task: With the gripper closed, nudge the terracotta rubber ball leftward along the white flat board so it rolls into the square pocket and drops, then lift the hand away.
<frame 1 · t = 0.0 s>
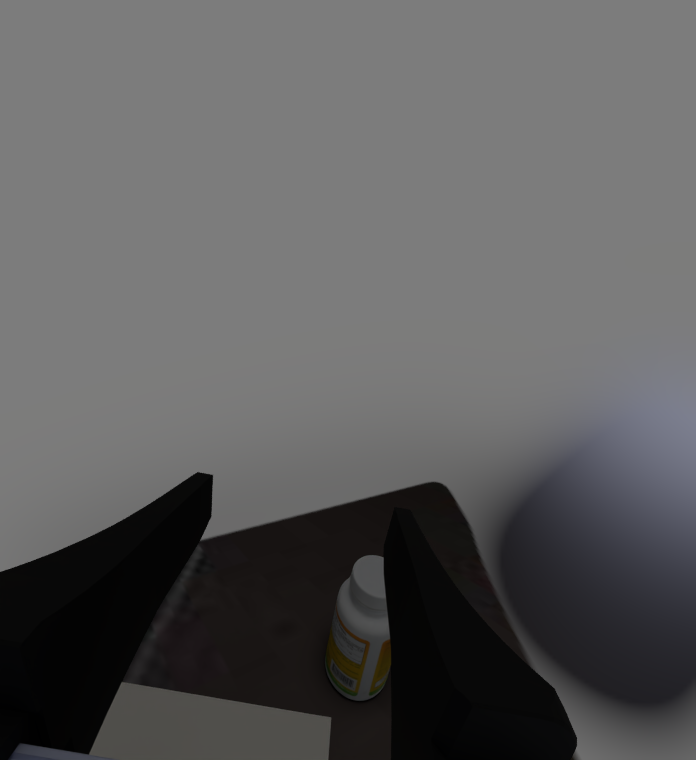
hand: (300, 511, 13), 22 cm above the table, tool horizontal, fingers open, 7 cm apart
supplement bottle: (355, 667, 29), on the table
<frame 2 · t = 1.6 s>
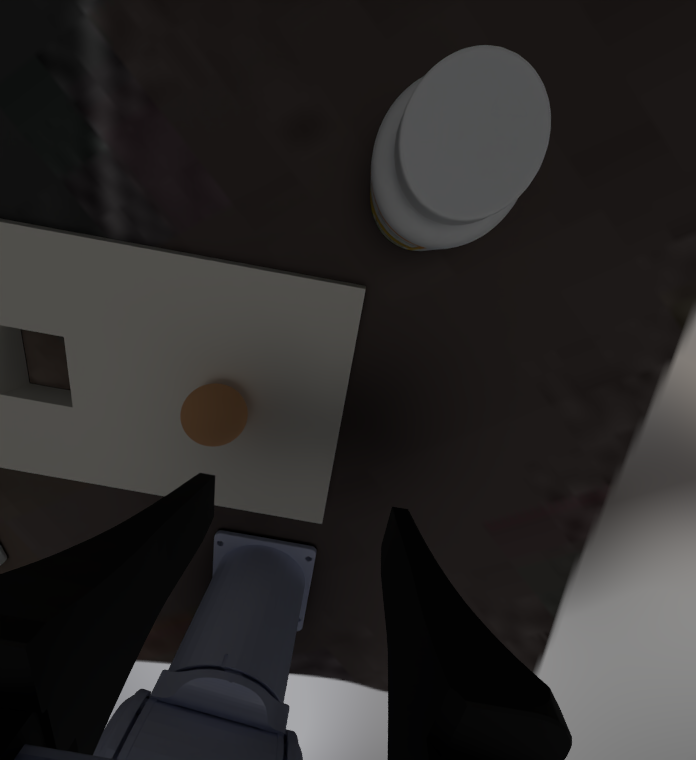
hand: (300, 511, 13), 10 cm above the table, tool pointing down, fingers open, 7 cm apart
supplement bottle: (419, 197, 18), on the table
ball: (215, 414, 19), point 4 cm above the table, touching white flat board
white flat board: (149, 373, 22), on the table
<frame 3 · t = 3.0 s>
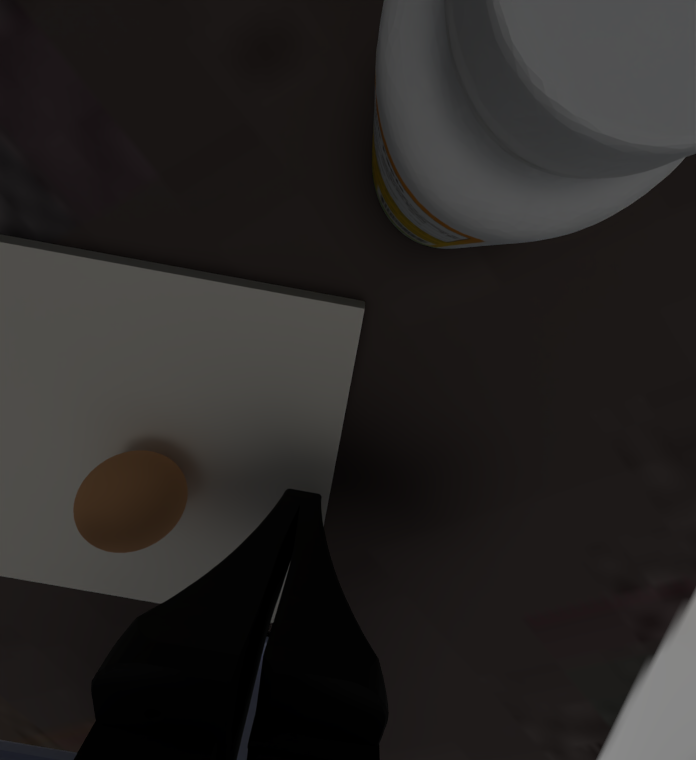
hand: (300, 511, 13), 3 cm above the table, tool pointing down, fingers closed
supplement bottle: (449, 165, 12), on the table
ball: (134, 499, 12), point 4 cm above the table, touching white flat board
white flat board: (59, 422, 16), on the table
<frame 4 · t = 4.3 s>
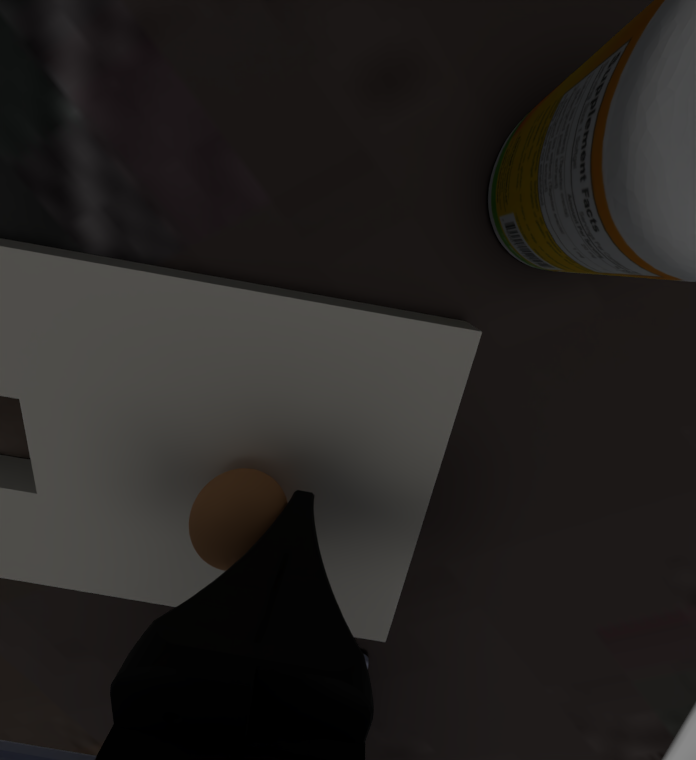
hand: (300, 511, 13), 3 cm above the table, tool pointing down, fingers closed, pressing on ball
supplement bottle: (561, 189, 12), on the table
ball: (240, 517, 13), point 4 cm above the table, tilted 6°, touching white flat board, gripper
white flat board: (146, 439, 16), on the table
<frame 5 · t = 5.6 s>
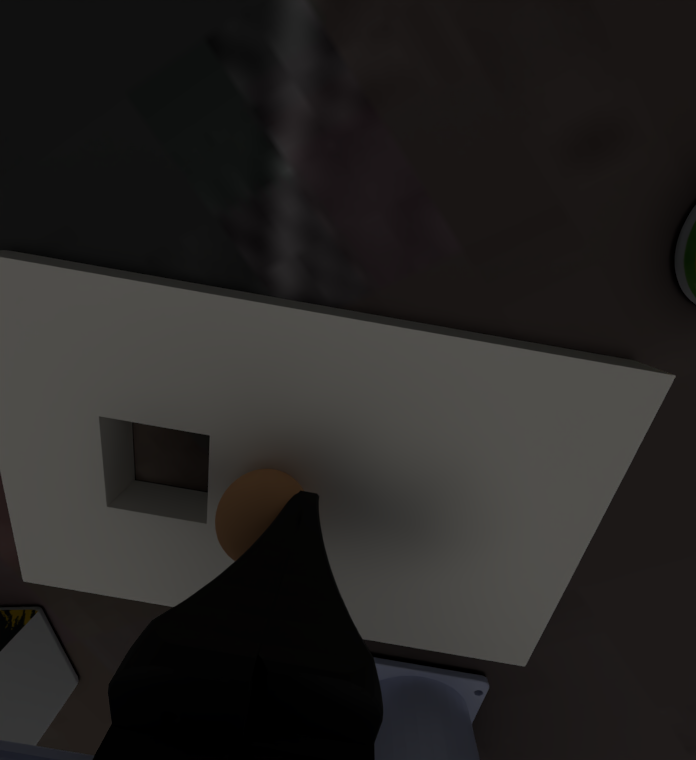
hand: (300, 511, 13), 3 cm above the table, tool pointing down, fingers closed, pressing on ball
ball: (264, 515, 13), point 4 cm above the table, tilted 132°, touching white flat board, gripper
medicine bottle: (16, 641, 22), on the table
white flat board: (300, 469, 17), on the table
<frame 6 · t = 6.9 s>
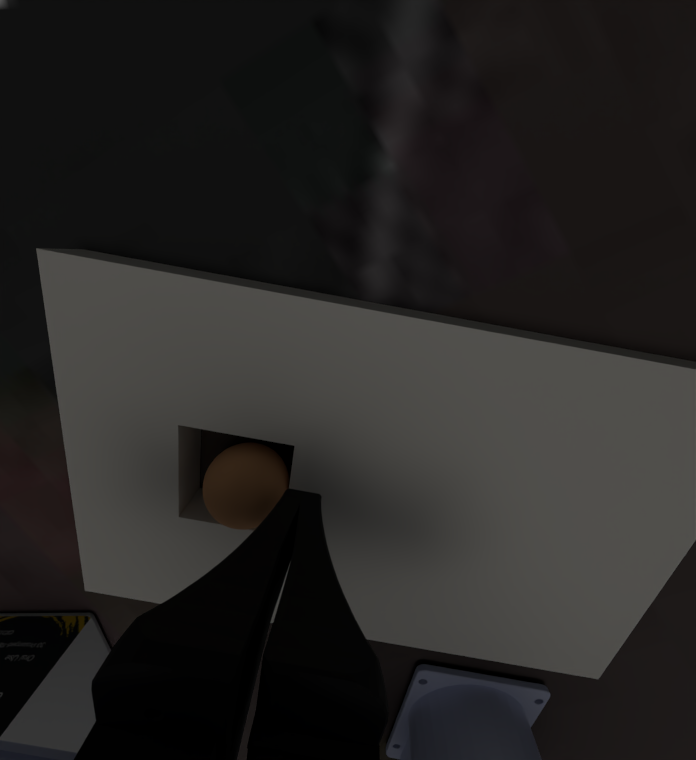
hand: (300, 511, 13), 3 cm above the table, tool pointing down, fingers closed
ball: (247, 484, 14), point 2 cm above the table, tilted 12°
medicine bottle: (64, 645, 22), on the table
white flat board: (374, 478, 16), on the table
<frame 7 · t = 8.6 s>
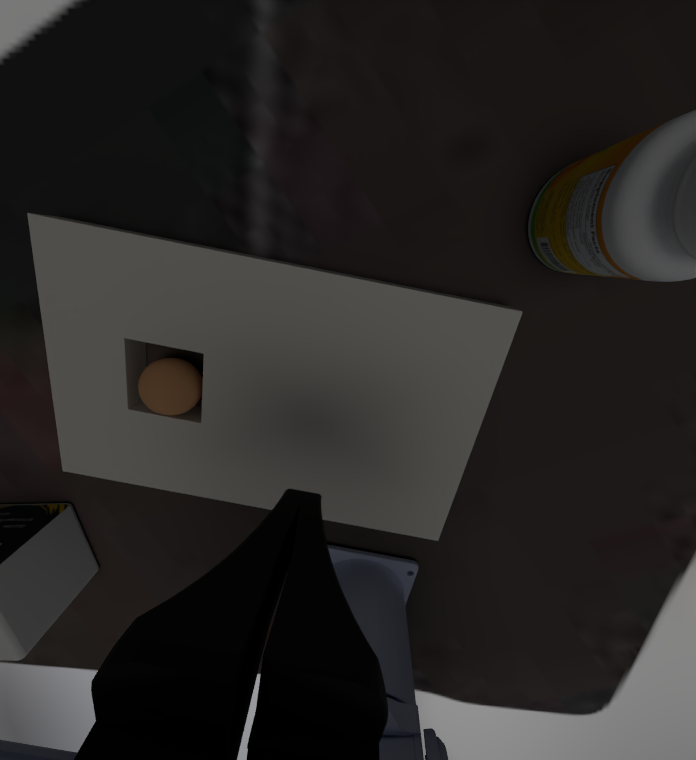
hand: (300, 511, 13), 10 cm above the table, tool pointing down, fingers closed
supplement bottle: (575, 219, 18), on the table
ball: (172, 386, 21), point 2 cm above the table, tilted 16°
medicine bottle: (49, 534, 28), on the table
white flat board: (272, 389, 22), on the table
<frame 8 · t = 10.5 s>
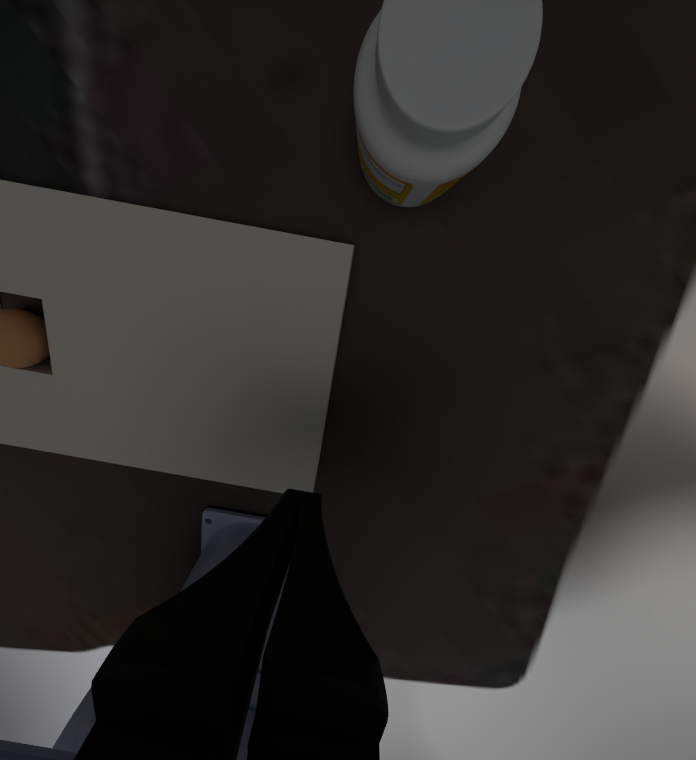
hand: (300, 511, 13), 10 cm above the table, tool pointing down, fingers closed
supplement bottle: (410, 150, 18), on the table
ball: (15, 338, 20), point 2 cm above the table, tilted 23°
white flat board: (132, 341, 22), on the table
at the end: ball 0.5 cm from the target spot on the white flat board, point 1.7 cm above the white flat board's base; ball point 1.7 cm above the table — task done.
